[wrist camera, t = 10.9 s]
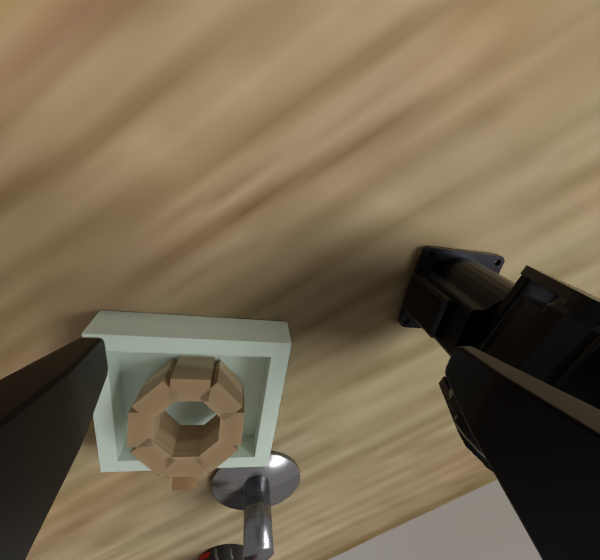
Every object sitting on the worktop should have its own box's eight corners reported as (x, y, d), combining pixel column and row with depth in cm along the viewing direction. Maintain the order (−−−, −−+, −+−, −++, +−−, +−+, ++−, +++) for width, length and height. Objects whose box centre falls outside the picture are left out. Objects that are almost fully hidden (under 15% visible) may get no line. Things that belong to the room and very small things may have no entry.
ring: (246, 358, 23) (248, 380, 20) (235, 461, 25) (235, 496, 22) (144, 354, 22) (129, 378, 19) (140, 464, 23) (125, 502, 20)
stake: (306, 449, 30) (319, 520, 24) (292, 503, 33) (300, 575, 28) (214, 451, 28) (206, 528, 22) (209, 508, 31) (202, 586, 26)
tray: (287, 321, 23) (291, 343, 21) (266, 438, 28) (267, 466, 26) (100, 310, 20) (81, 333, 18) (114, 441, 25) (101, 472, 23)
